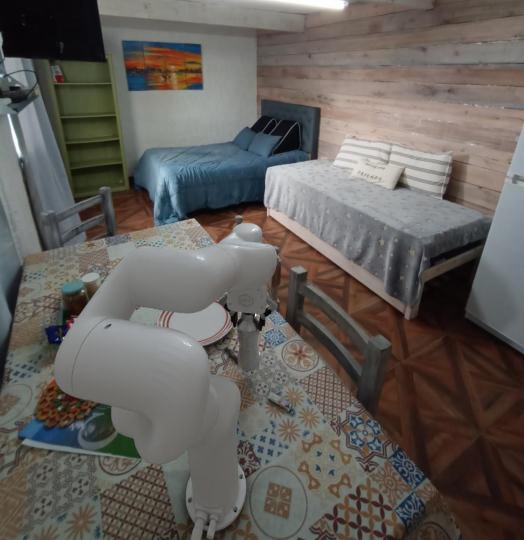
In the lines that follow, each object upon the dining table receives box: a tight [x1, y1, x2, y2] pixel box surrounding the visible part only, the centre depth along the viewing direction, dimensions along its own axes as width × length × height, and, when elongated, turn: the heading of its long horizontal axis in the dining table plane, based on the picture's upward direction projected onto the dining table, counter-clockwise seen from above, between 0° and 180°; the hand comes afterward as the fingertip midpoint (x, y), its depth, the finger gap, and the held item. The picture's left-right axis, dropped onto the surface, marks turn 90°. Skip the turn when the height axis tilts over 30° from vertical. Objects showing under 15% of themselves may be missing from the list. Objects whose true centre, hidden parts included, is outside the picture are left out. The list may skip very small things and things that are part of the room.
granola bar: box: [267, 390, 293, 412], centre depth 84 cm, size 7×2×1 cm, turn 58°
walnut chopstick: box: [224, 347, 238, 364], centre depth 98 cm, size 7×1×1 cm, turn 44°
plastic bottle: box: [235, 312, 261, 372], centre depth 88 cm, size 6×7×20 cm
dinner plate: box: [156, 294, 233, 347], centre depth 110 cm, size 27×27×3 cm
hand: (248, 325), depth 86 cm, fingers closed on plastic bottle, 6 cm apart
